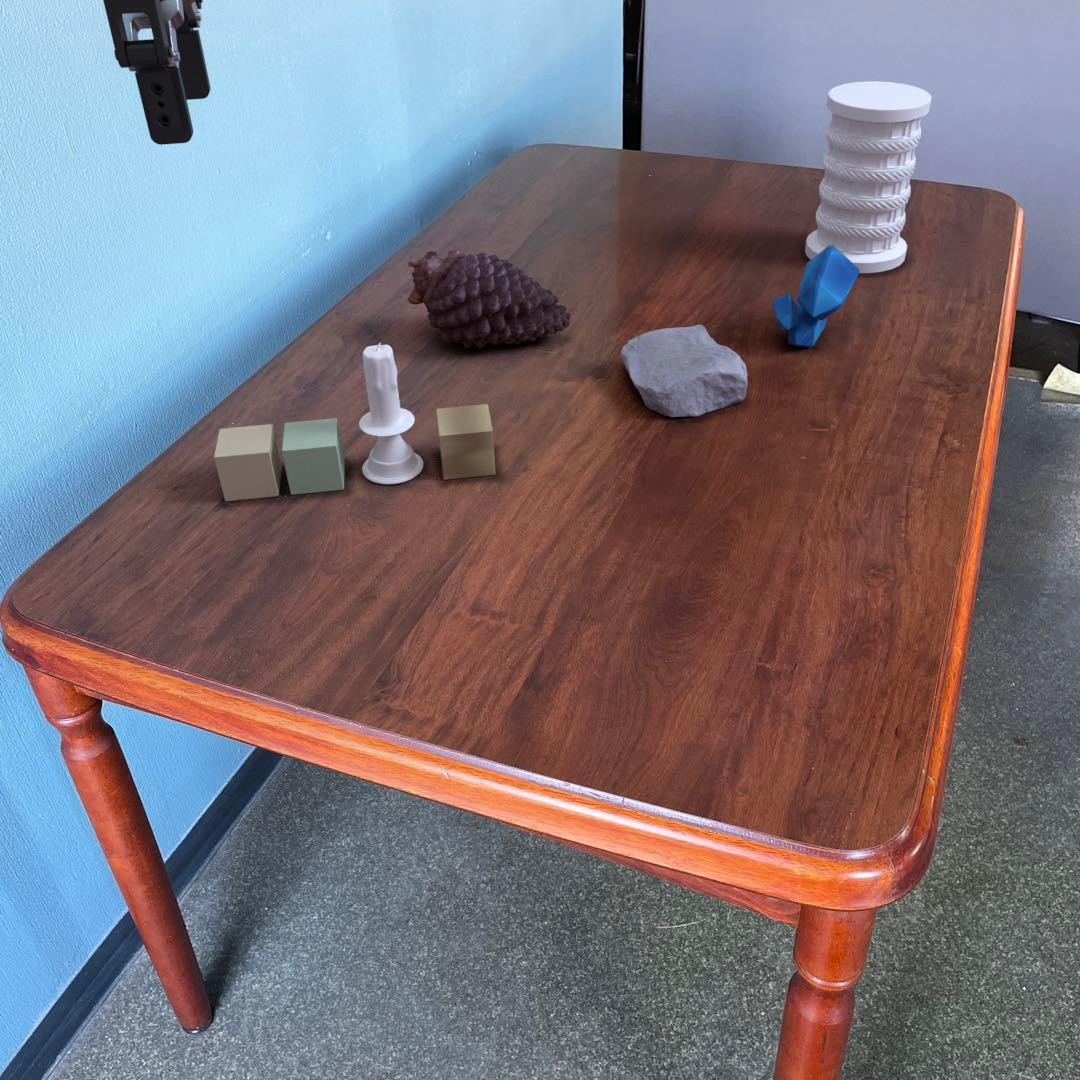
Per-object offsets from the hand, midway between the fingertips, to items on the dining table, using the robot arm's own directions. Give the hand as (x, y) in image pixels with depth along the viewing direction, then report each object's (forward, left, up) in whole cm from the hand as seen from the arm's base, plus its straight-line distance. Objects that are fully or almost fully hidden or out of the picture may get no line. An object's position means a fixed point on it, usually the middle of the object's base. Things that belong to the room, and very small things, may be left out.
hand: (183, 118), depth 62 cm
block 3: (+15, +13, -34) cm, 39 cm away
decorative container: (+64, +50, -34) cm, 88 cm away
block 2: (+2, +13, -34) cm, 36 cm away
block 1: (-3, +13, -34) cm, 37 cm away
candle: (+9, +13, -34) cm, 38 cm away
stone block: (+36, +23, -34) cm, 55 cm away
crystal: (+52, +31, -34) cm, 70 cm away
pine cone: (+19, +36, -34) cm, 53 cm away
